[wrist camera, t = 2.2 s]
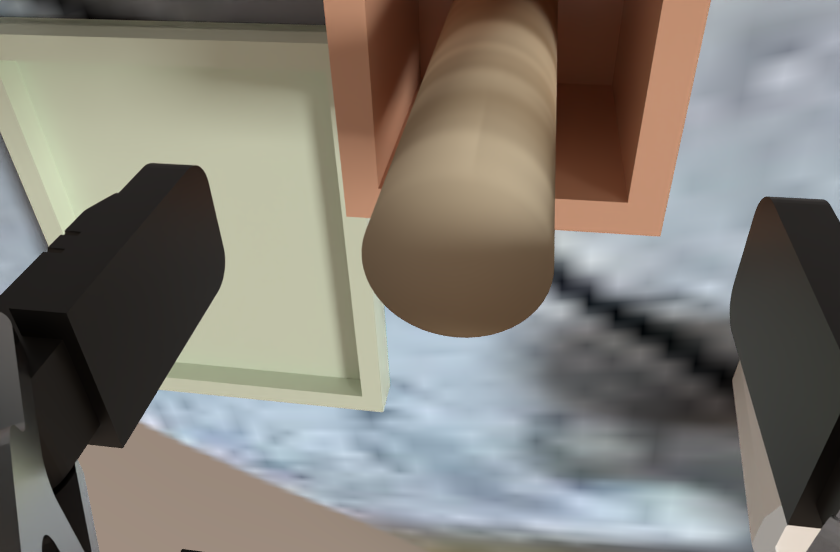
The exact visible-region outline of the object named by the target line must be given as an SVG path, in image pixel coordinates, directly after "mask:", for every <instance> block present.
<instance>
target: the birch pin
mask: <svg viewBox="0 0 840 552" xmlns="http://www.w3.org/2000/svg"><path fill="white" fill-rule="evenodd" d="M557 30H558V0H453V2H452V5H451V7H450V10H449V12H448V15H447V18H446V20H445V23H444V26H443V28H442V31H441V33H440V36H439V39H438V41H437V44H436V47H435V49H434V52H433V55H432V57H431V60H430V62H429V65H428V68H427V70H426V73H425V76H424V78H423V81H422V84H421V86H420V89H419V91H418V94H417V97H416V99H415V102H414V105H413V107H412V110H411V112H410V115H409V118H408V120H407V123H406V126H405V128H404V131H403V134H402V136H401V139H400V141H399V144H398V147H397V149H396V152H395V155H394V157H393V160H392V162H391V165H390V168H389V170H388V173H387V176H386V178H385V181H384V184H383V186H382V189H381V191H380V194H379V197H378V199H377V202H376V205H375V207H374V210H373V213H372V215H371V218H370V220H369V223H368V226H367V228H366V231H365V234H364V237H363V242H362V249H361V251H362V264H363V269H364V272H365V275H366V278H367V281H368V283H369V285H370V287H371V288H372V290H373V291H374V293H375V294H376V296H377V297H378V298H379V300H380V301H381V302H382V303H383V304H384V305H385V306H386V307H387V308H388V309H389V310H390V311H391V312H393V313H394V314H395V315H397V316H398V317H400V318H401V319H402V320H404V321H406V322H408V323H409V324H411V325H413V326H416V327H418V328H420V329H422V330H425V331H428V332H431V333H435V334H439V335H444V336H451V337H465V338H469V337H481V336H487V335H492V334H496V333H499V332H502V331H505V330H507V329H510V328H512V327H514V326H516V325H517V324H519V323H521V322H522V321H524V320H525V319H527V318H528V317H529V316H530V315H531V314H533V313H534V312H535V311H536V310H537V309H538V307H539V306H540V305H541V304H542V302H543V301H544V299H545V297H546V296H547V294H548V292H549V289H550V287H551V284H552V280H553V274H554V234H555V166H556V98H557Z"/></svg>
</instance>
